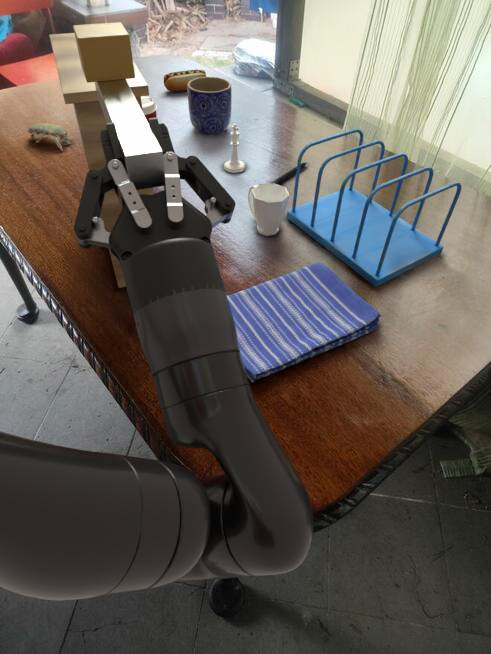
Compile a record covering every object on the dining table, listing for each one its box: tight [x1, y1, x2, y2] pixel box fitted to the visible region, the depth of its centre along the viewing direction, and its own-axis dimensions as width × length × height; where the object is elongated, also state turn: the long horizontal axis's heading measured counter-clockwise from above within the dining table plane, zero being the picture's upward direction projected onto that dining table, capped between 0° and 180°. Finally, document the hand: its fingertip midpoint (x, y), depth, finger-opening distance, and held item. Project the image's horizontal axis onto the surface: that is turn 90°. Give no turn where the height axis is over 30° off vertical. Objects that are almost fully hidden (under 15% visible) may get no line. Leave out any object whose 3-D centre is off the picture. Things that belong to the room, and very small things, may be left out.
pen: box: [270, 162, 308, 185], centre depth 102 cm, size 1×16×1 cm, turn 141°
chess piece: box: [223, 123, 246, 174], centre depth 102 cm, size 5×5×10 cm
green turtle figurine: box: [27, 122, 71, 152], centre depth 110 cm, size 9×11×5 cm
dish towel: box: [227, 261, 382, 383], centre depth 71 cm, size 17×24×3 cm
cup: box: [247, 182, 291, 237], centre depth 86 cm, size 7×10×8 cm
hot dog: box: [163, 69, 207, 93], centre depth 136 cm, size 5×13×5 cm, turn 115°
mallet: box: [72, 21, 165, 190], centre depth 43 cm, size 22×5×7 cm, turn 20°
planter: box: [186, 76, 233, 136], centre depth 115 cm, size 11×11×11 cm
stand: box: [48, 32, 155, 289], centre depth 73 cm, size 25×10×31 cm, turn 20°
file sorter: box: [286, 128, 462, 288], centre depth 82 cm, size 25×17×15 cm
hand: (131, 127), depth 39 cm, fingers closed on mallet, 3 cm apart
